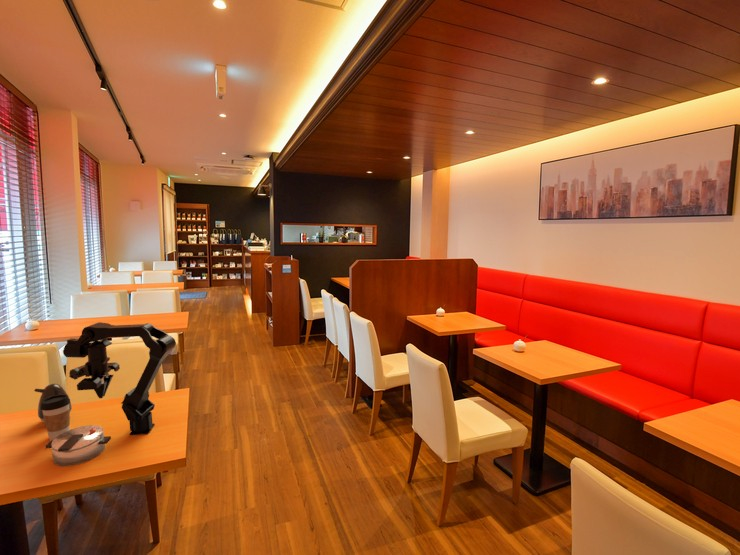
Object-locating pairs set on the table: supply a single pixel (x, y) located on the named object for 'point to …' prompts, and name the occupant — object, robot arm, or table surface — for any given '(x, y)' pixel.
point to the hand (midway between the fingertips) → (101, 397)
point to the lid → (77, 438)
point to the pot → (79, 453)
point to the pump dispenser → (47, 392)
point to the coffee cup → (56, 414)
